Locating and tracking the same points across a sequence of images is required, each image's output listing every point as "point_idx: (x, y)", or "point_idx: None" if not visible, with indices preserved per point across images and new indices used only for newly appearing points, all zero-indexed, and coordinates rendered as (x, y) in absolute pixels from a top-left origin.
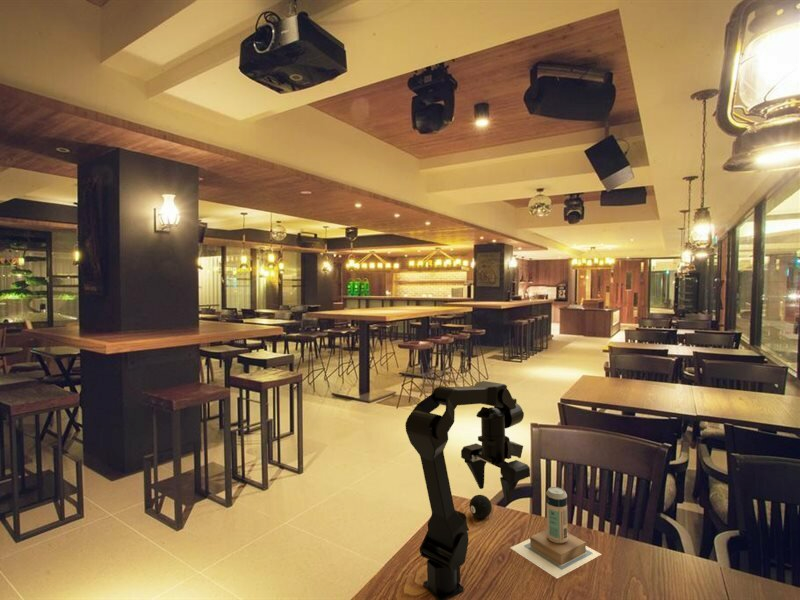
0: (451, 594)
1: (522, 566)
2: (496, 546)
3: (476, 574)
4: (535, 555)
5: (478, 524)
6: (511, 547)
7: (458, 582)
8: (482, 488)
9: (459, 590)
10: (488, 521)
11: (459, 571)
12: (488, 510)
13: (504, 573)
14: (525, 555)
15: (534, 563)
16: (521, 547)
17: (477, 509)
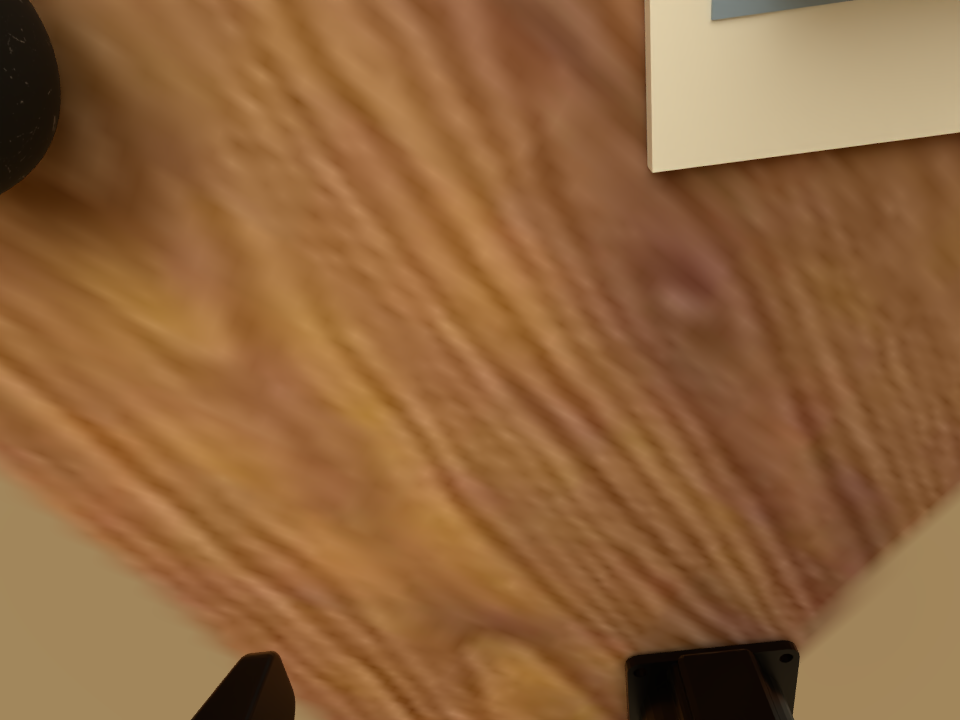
0: (791, 707)
1: (874, 217)
2: (537, 235)
3: (724, 528)
4: (894, 26)
5: (128, 165)
6: (657, 154)
7: (762, 671)
8: (282, 665)
9: (796, 673)
10: (93, 24)
11: (775, 712)
12: (24, 35)
13: (836, 383)
14: (827, 119)
15: (958, 126)
16: (713, 62)
17: (6, 186)
